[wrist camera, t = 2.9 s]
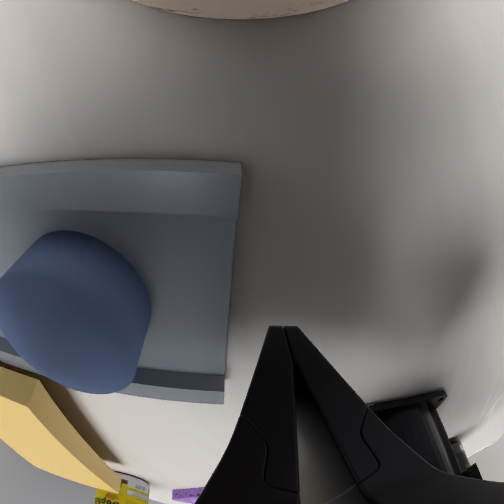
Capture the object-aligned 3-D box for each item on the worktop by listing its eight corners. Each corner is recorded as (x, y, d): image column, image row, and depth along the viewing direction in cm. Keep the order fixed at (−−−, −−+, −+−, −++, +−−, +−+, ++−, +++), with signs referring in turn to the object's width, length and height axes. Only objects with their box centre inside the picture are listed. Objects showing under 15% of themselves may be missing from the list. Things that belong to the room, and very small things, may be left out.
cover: (121, 477, 18) (118, 500, 16) (36, 451, 17) (31, 471, 15) (33, 368, 9) (14, 410, 7) (-65, 328, 8) (-83, 355, 6)
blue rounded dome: (141, 231, 8) (115, 277, 6) (160, 354, 10) (150, 403, 8) (10, 229, 7) (-28, 264, 5) (49, 338, 10) (30, 378, 8)
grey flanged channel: (241, 162, 7) (242, 175, 6) (223, 381, 12) (223, 404, 11) (-99, 186, 6) (-113, 196, 4) (-52, 321, 10) (-61, 333, 9)
